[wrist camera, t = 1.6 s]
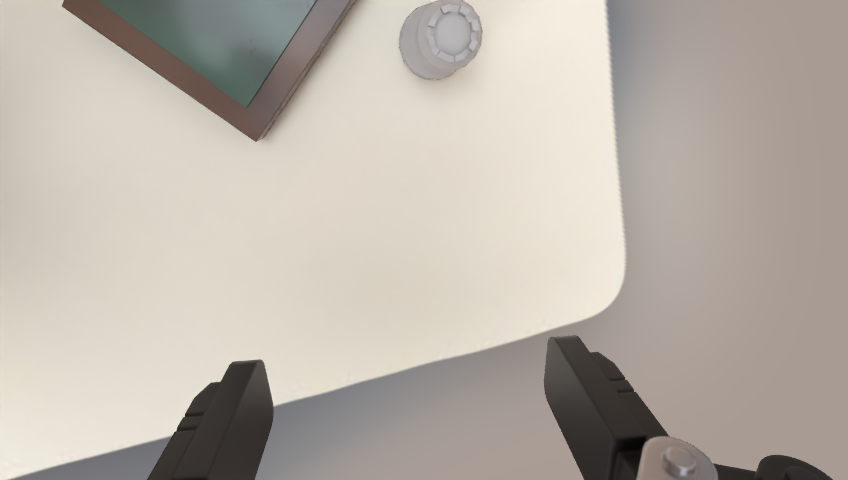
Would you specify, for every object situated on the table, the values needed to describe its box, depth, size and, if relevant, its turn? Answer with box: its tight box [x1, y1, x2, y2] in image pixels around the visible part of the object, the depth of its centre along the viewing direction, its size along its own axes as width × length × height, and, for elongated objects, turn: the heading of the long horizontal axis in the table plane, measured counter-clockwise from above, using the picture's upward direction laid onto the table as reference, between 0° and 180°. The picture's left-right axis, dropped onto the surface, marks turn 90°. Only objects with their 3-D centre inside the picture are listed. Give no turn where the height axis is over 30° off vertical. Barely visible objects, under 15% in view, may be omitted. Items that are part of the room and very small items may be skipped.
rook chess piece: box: [399, 0, 482, 80], centre depth 24 cm, size 4×4×8 cm
